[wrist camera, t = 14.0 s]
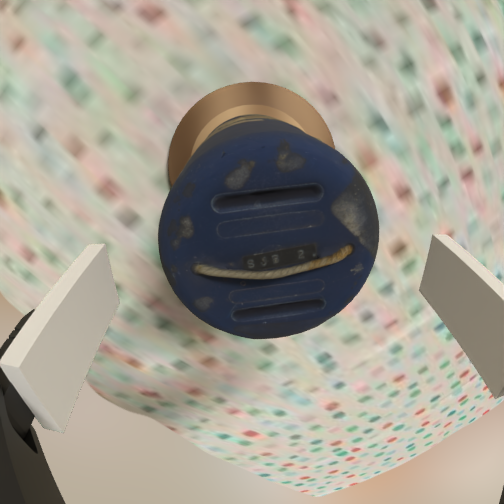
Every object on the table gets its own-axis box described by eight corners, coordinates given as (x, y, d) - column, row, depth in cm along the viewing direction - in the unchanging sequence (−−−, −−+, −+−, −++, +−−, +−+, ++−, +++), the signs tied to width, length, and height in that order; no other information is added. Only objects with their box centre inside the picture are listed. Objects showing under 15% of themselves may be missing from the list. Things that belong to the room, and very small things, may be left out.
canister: (204, 106, 25) (145, 119, 9) (315, 121, 26) (428, 164, 10) (194, 212, 29) (148, 355, 13) (296, 223, 30) (355, 367, 14)
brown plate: (178, 242, 31) (176, 246, 31) (165, 88, 24) (162, 87, 24) (328, 237, 32) (330, 241, 31) (336, 85, 25) (338, 85, 24)
